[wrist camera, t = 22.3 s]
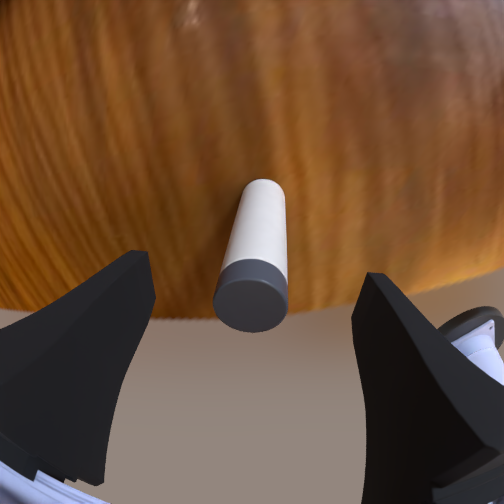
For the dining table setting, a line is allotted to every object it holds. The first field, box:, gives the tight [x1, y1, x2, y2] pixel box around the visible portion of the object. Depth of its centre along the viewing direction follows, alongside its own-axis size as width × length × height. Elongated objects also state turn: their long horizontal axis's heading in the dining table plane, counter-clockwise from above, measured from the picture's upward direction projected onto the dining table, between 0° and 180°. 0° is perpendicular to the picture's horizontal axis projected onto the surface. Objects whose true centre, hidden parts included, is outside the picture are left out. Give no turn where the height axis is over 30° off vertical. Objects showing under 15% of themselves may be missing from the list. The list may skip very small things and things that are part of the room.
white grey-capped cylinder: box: [213, 179, 288, 333], centre depth 12 cm, size 2×2×8 cm
